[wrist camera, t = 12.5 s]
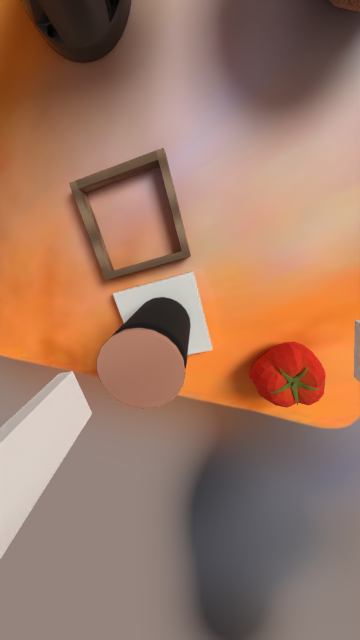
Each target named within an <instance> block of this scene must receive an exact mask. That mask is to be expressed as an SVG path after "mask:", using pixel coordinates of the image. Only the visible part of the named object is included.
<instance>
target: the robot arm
mask: <svg viewBox="0 0 360 640" xmlns="http://www.w3.org/2000/svg"><path fill="white" fill-rule="evenodd" d="M21 1H22V3H23V5H24V8H25V10H26V12H27V14H28V15H29V17H30V19H31V21H32V22H33V24H34V25H35V27H36V28H37V29H38V31H39V32H40V33H41V35H42V36H43V38H44V39H45V40H46V42H47V43H48V44H49V45H50V46H51V47H52V48H53V49H54V50H55V51H56V52H57V53H59V54H60V55H62V56H63V57H65V58H67V59H70V60H72V61H76V62H90V61H94V60H97V59H99V58H101V57H103V56H104V55H106V54H107V53H108V52H109V51H110V50H111V49H112V48H113V47H114V46H115V45H116V43H117V42H118V40H119V39H120V37H121V35H122V33H123V31H124V29H125V26H126V23H127V20H128V17H129V12H130V7H131V0H21ZM354 377H355V378H356V379H357V380H358V381H359V382H360V320H357V321H355V347H354ZM91 414H92V412H91V410H90V408H89V406H88V404H87V401H86V399H85V397H84V395H83V393H82V391H81V388H80V386H79V384H78V382H77V380H76V378H75V375H74V373H73V371H69V372H64V373H59V374H58V375H57V376H56V377H55V378H54V379H52V380H51V381H50V382H49V383H48V384H47V385H46V386H45V387H44V388H43V389H42V390H41V391H39V392H38V394H36V395H35V396H34V397H33V398H32V399H31V400H30V401H29V402H28V403H27V404H25V405H24V406H23V407H22V408H21V409H20V410H19V411H18V412H17V413H16V414H15V415H13V416H12V417H11V418H10V419H9V420H8V421H7V422H6V423H5V424H4V425H3V426H2V427H1V428H0V559H1V557H2V556H3V554H4V552H5V551H6V549H7V548H8V546H9V544H10V543H11V541H12V540H13V538H14V537H15V535H16V533H17V532H18V530H19V529H20V527H21V525H22V524H23V522H24V521H25V519H26V517H27V516H28V514H29V513H30V511H31V510H32V508H33V506H34V504H35V503H36V502H37V500H38V498H39V497H40V495H41V494H42V492H43V491H44V489H45V487H46V486H47V484H48V482H49V481H50V479H51V478H52V476H53V475H54V473H55V472H56V470H57V468H58V467H59V465H60V464H61V462H62V460H63V459H64V457H65V456H66V454H67V452H68V451H69V449H70V448H71V446H72V444H73V443H74V441H75V440H76V438H77V437H78V435H79V433H80V432H81V430H82V429H83V427H84V426H85V424H86V422H87V421H88V419H89V418H90V416H91Z"/></svg>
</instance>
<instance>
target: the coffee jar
mask: <svg viewBox="0 0 360 640" xmlns="http://www.w3.org/2000/svg"><path fill="white" fill-rule="evenodd" d="M190 327H191V324H190V317H189V315H188V313H187V311H186V309H185V308H184V307H183V306H182V305H181V304H180V303H179V302H177V301H175V300H173V299H171V298H166V297H158V298H153V299H151V300H149V301H147V302H145V303H144V304H143V305H142V306H141V307H140V308H139V309H138V310H137V311H136V312H135V313H134V314H133V315H132V316H131V317H130V318H129V319H128V320H127V321H126V322H125V323H124V324H123V325H122V326H121V327H120V328H119V329H118V330H117V331H116V332H115V333H114V334H113V335H112V336H111V337H110V338H109V339H108V340H107V341H106V342H105V343H104V344H103V345H102V347H101V350H100V352H99V354H98V357H97V372H98V375H99V379H100V382H101V383H102V385H103V386H104V387H105V389H106V390H107V392H108V393H109V394H111V395H112V396H113V397H114V398H115V399H117V400H118V401H120V402H122V403H124V404H126V405H128V406H132V407H138V408H142V409H143V408H156V407H158V406H161V405H164V404H167V403H168V402H169V401H170V400H172V399H173V398H174V397H176V396H177V394H178V393H179V391H180V389H181V388H182V386H183V383H184V378H185V368H186V363H187V355H188V345H189V336H190Z"/></svg>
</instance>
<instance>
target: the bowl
mask: <svg viewBox="0 0 360 640" xmlns="http://www.w3.org/2000/svg"><path fill="white" fill-rule="evenodd" d="M329 1H330V2H331V3H332V4H333V5H334V6H335V7H339V8H344V9H348V10H353V11H357V12H360V0H329Z"/></svg>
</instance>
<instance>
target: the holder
mask: <svg viewBox="0 0 360 640" xmlns="http://www.w3.org/2000/svg"><path fill="white" fill-rule="evenodd" d="M158 166H160V168H161V172H162V176H163V180H164V184H165V188H166V192H167V196H168V199H169V203H170V207H171V211H172V215H173V219H174V223H175V227H176V231H177V234H178V238H179V242H180V246H181V250H182V251H180V252H177V253H173V254H170V255H167V256H163V257H160V258H156V259H153V260H149V261H146V262H142V263H139V264H135V265H132V266H128V267H125V268H121V269H118V270H115V271H114V269H113V267H112V264H111V261H110V258H109V255H108V253H107V250H106V247H105V244H104V242H103V239H102V236H101V233H100V230H99V228H98V225H97V222H96V219H95V216H94V214H93V211H92V208H91V205H90V202H89V200H88V197H87V194H86V192H89V191H92V190H95V189H97V188H100V187H103V186H106V185H108V184H111V183H114V182H117V181H119V180H122V179H125V178H128V177H131V176H133V175H136V174H139V173H142V172H144V171H147V170H150V169H153V168H155V167H158ZM69 184H70V187H71V190H72V192H73V195H74V198H75V200H76V203H77V206H78V208H79V211H80V214H81V216H82V219H83V222H84V224H85V227H86V230H87V232H88V235H89V238H90V240H91V243H92V246H93V248H94V251H95V254H96V256H97V259H98V262H99V265H100V267H101V270H102V273H103V275H104V278H105V280H108V279H111V278H115V277H118V276H122V275H125V274H129V273H132V272H136V271H139V270H143V269H147V268H150V267H154V266H157V265H161V264H164V263H168V262H171V261H175V260H178V259H182V258H185V257H189V256H191V255H190V251H189V247H188V243H187V239H186V235H185V231H184V226H183V222H182V218H181V214H180V210H179V206H178V202H177V198H176V194H175V190H174V186H173V182H172V178H171V174H170V170H169V166H168V162H167V158H166V154H165V151H164V148H162V149H159V150H156V151H154V152H151V153H148V154H146V155H143V156H140V157H138V158H135V159H132V160H130V161H127V162H124V163H122V164H119V165H116V166H114V167H111V168H108V169H106V170H103V171H100V172H98V173H95V174H92V175H90V176H87V177H84V178H82V179H79V180H76V181H74V182H71V183H69Z"/></svg>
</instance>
